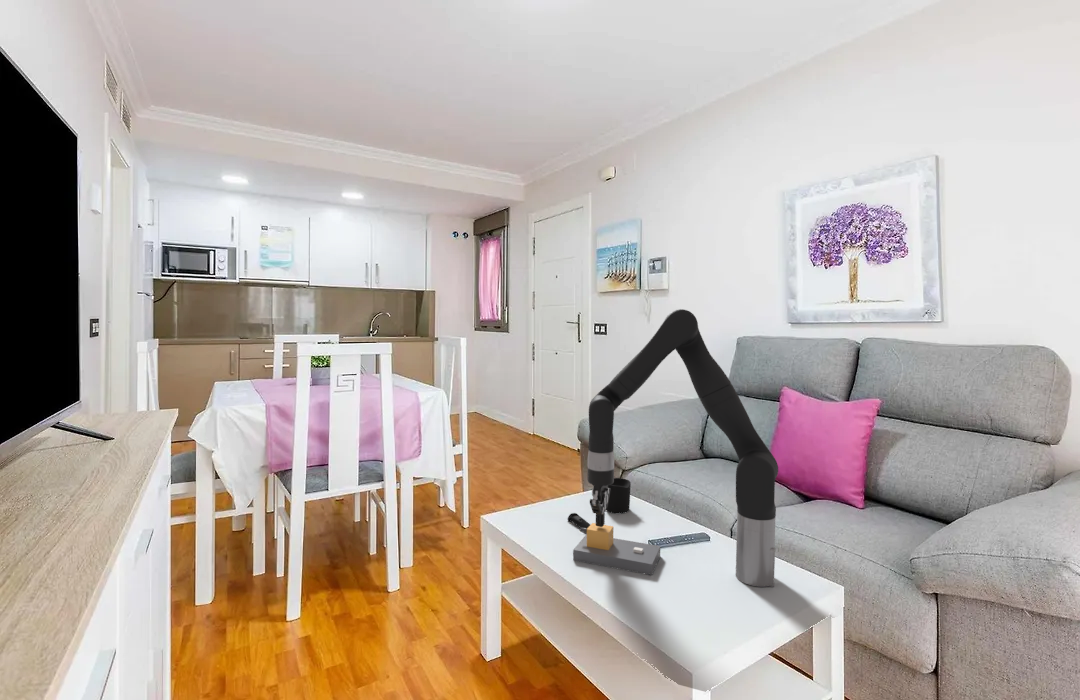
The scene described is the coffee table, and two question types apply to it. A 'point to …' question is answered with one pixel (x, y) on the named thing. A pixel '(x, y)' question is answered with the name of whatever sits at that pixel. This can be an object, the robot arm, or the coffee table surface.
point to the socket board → (620, 555)
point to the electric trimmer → (578, 520)
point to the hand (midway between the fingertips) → (600, 525)
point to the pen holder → (619, 496)
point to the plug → (599, 536)
